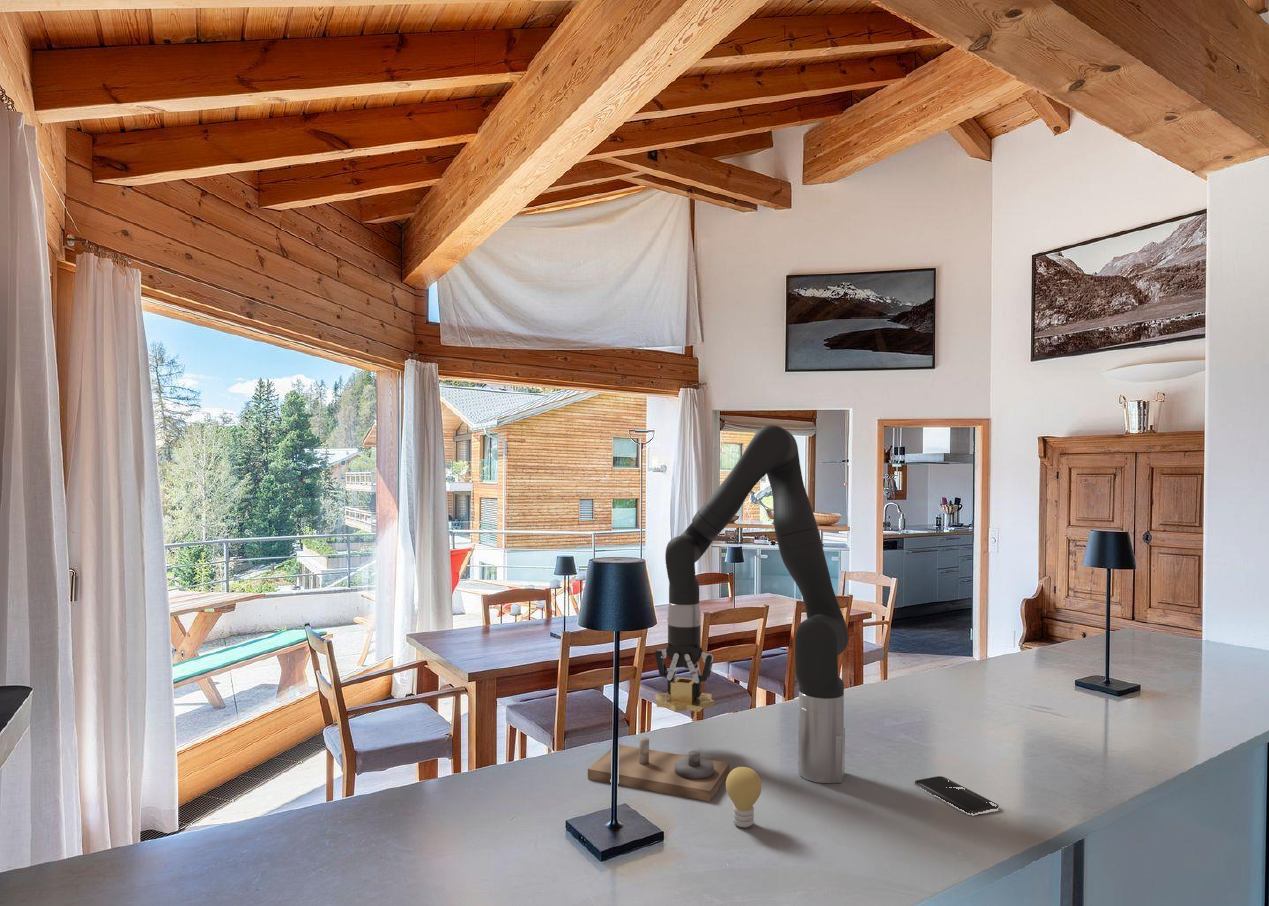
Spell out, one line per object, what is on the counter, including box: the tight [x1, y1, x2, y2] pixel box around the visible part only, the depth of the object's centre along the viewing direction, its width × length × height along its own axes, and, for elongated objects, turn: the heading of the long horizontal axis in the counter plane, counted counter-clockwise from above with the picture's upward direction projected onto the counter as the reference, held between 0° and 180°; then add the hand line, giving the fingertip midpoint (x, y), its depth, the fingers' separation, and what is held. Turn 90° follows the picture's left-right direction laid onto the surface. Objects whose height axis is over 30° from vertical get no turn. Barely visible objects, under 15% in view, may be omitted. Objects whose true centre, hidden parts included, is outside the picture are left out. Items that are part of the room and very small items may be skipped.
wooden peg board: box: [587, 736, 731, 802], centre depth 152 cm, size 26×15×7 cm, turn 68°
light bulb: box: [725, 766, 762, 829], centre depth 131 cm, size 6×6×10 cm
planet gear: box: [654, 676, 716, 713], centre depth 167 cm, size 14×14×5 cm
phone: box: [914, 775, 1000, 814], centre depth 144 cm, size 8×1×15 cm
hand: (684, 697), depth 167 cm, fingers closed on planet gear, 5 cm apart
